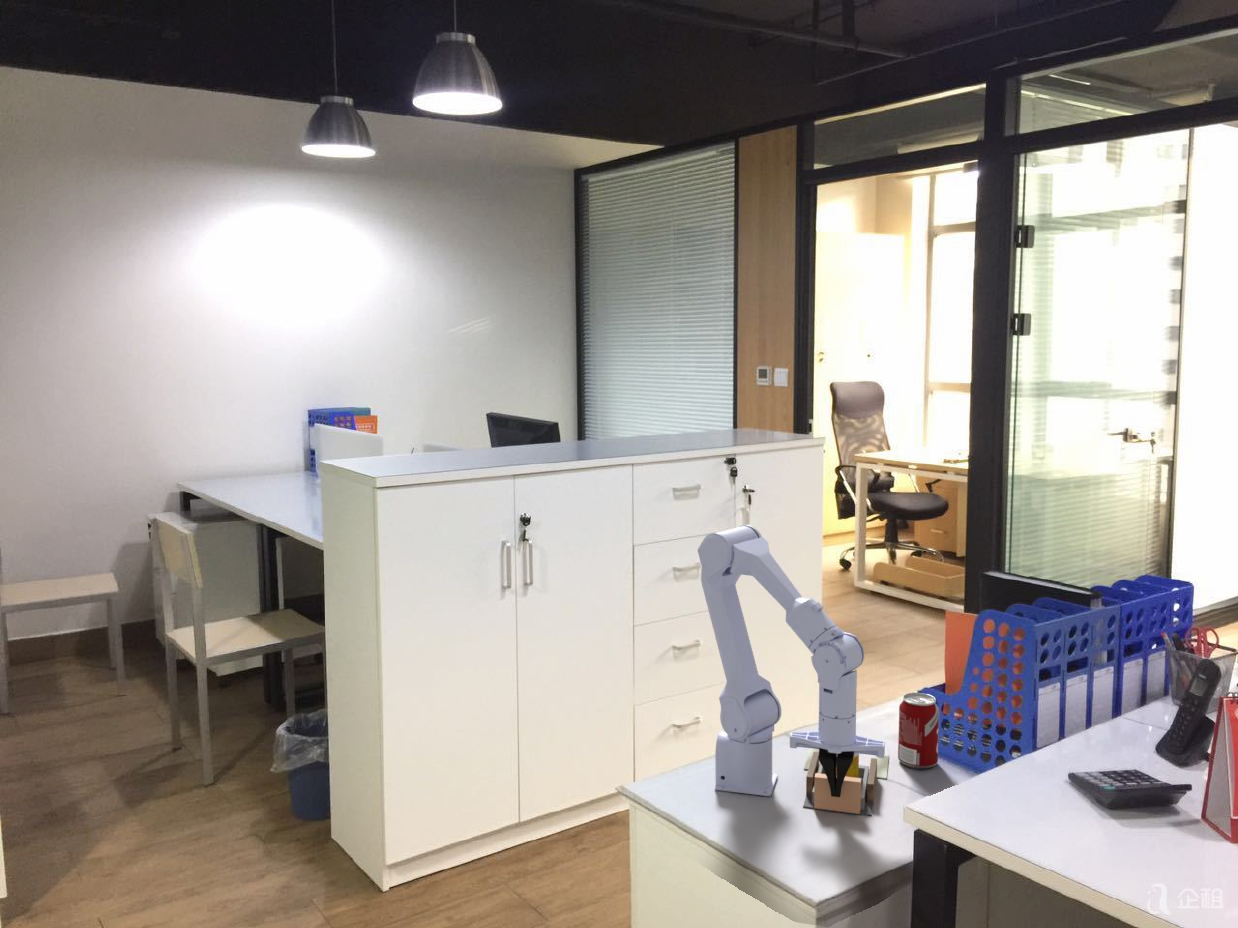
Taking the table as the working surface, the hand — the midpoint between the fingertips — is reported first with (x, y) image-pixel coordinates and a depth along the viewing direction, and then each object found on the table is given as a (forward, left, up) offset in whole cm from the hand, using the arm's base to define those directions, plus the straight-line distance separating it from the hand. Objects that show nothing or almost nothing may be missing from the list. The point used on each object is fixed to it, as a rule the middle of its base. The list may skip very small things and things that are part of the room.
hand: (836, 793), depth 161 cm
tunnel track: (0, +13, -4) cm, 14 cm away
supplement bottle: (0, +10, -4) cm, 11 cm away
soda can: (+12, +24, -4) cm, 27 cm away
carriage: (0, +8, -4) cm, 9 cm away
